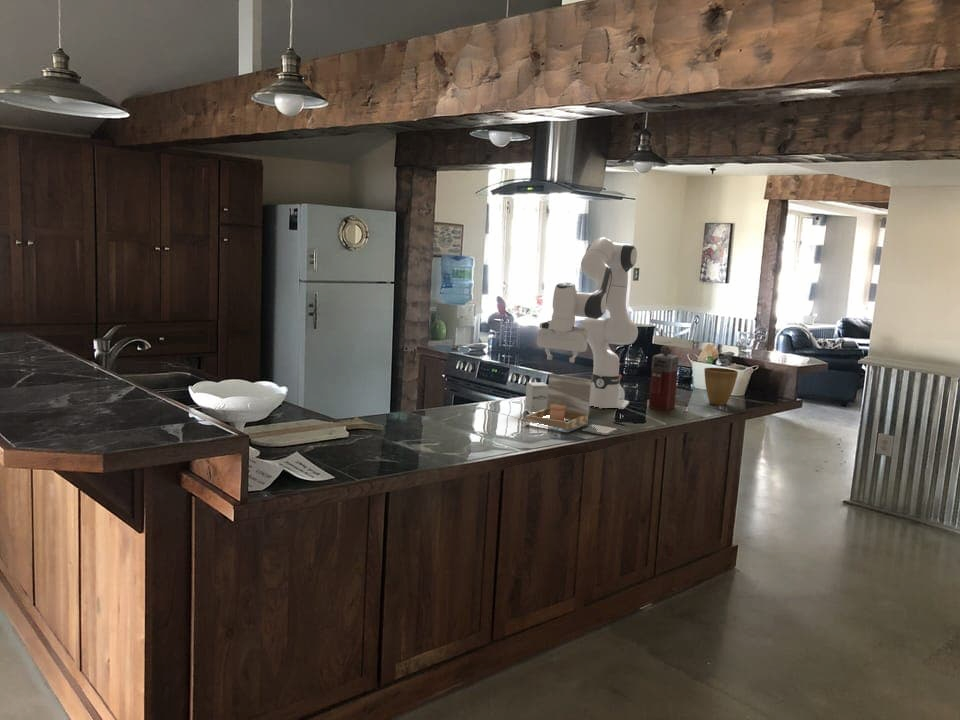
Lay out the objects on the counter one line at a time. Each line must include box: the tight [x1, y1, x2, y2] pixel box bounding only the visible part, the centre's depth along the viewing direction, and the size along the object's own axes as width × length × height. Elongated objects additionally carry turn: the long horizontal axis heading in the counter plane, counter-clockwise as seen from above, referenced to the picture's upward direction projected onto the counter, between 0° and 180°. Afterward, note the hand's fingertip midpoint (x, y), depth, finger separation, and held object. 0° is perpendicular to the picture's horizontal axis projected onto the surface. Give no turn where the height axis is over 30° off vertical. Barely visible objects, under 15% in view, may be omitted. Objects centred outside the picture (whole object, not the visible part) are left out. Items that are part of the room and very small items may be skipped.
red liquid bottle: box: [648, 344, 679, 411], centre depth 344 cm, size 9×11×28 cm
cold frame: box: [525, 373, 592, 429], centre depth 303 cm, size 19×18×18 cm
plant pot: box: [704, 367, 739, 406], centre depth 359 cm, size 15×15×16 cm
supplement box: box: [524, 381, 549, 412], centre depth 322 cm, size 7×7×13 cm
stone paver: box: [590, 424, 617, 433], centre depth 297 cm, size 10×10×1 cm
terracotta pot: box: [550, 404, 566, 422], centre depth 303 cm, size 6×6×8 cm
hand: (560, 361), depth 300 cm, fingers open, 8 cm apart
